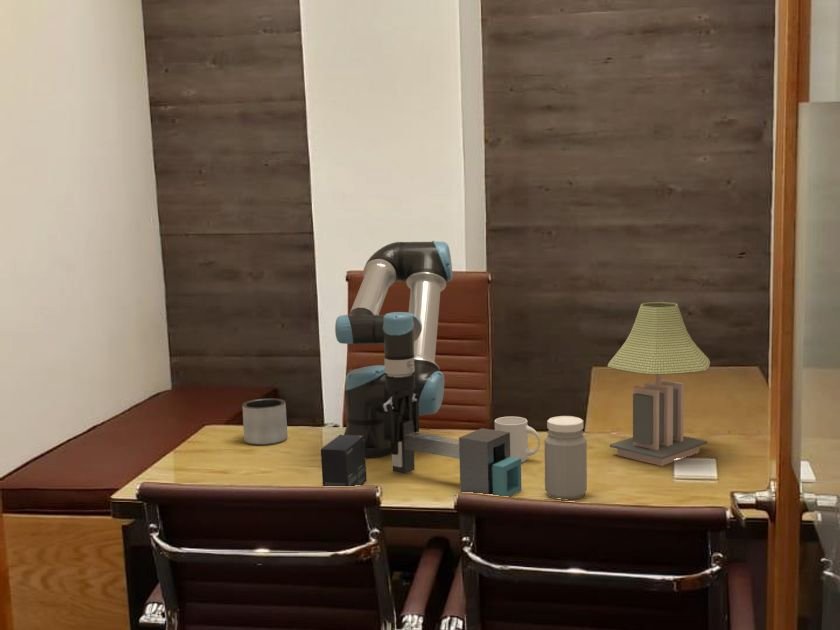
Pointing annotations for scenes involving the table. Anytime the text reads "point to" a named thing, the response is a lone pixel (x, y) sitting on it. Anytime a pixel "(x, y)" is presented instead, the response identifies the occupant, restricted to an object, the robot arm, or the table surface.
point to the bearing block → (481, 458)
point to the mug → (517, 436)
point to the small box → (344, 461)
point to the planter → (264, 421)
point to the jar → (565, 458)
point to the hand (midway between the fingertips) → (403, 463)
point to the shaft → (422, 446)
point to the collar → (507, 469)
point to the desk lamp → (659, 384)
